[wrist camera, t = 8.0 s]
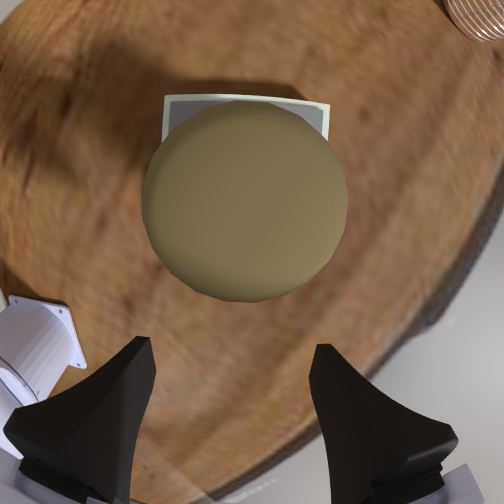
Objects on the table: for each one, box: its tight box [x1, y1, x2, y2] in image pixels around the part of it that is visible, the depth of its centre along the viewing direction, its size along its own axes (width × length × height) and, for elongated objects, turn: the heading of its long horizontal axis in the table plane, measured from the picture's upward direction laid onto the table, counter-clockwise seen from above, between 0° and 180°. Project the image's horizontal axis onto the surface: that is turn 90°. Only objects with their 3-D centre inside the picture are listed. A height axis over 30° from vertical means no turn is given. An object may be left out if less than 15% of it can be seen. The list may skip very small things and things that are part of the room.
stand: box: [162, 94, 330, 143], centre depth 17 cm, size 10×10×3 cm
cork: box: [142, 100, 348, 303], centre depth 11 cm, size 6×6×11 cm
